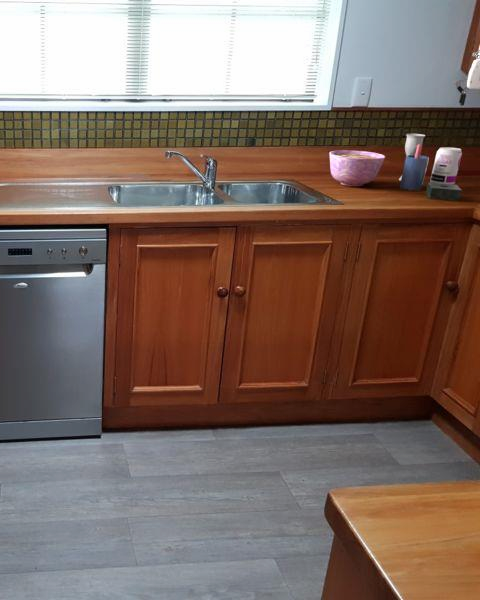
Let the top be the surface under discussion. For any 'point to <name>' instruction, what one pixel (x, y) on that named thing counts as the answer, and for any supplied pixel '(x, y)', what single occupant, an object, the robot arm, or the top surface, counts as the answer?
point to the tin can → (414, 172)
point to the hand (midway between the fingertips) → (476, 105)
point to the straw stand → (443, 192)
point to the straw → (418, 151)
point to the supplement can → (446, 165)
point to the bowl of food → (355, 166)
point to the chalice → (412, 143)
